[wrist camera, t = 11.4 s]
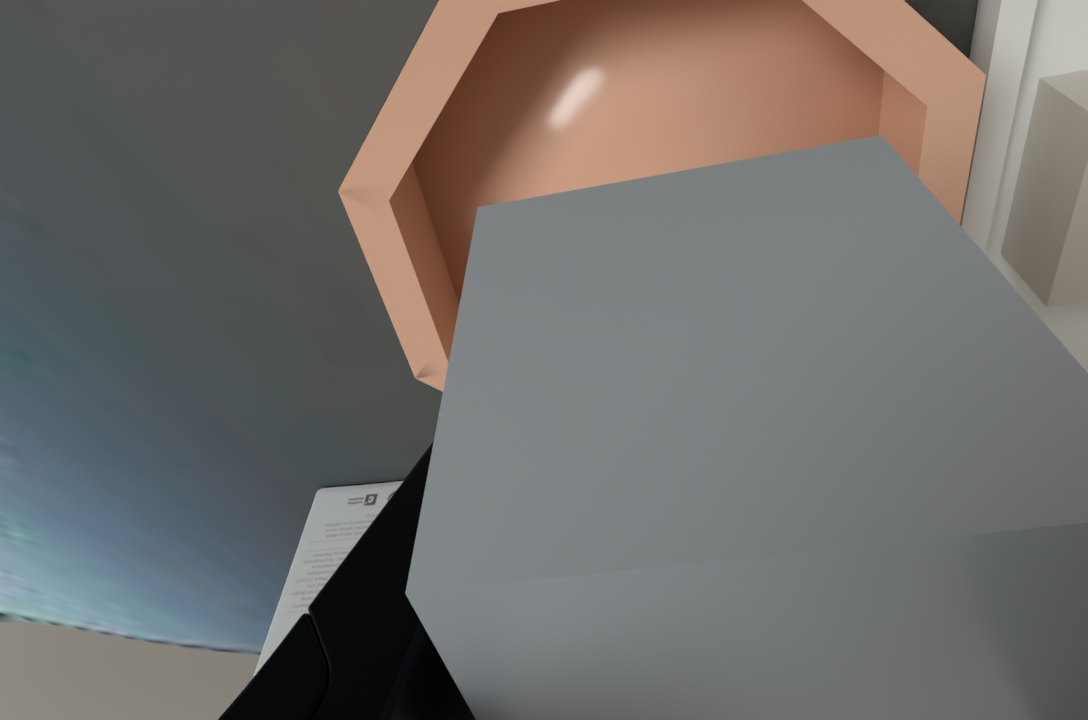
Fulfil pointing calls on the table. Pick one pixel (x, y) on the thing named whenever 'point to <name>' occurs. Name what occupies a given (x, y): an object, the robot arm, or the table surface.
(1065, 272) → the beige grey block
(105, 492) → the table surface
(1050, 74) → the parts tray
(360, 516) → the skincare box
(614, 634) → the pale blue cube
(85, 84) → the table surface
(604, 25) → the terracotta dish
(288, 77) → the table surface
